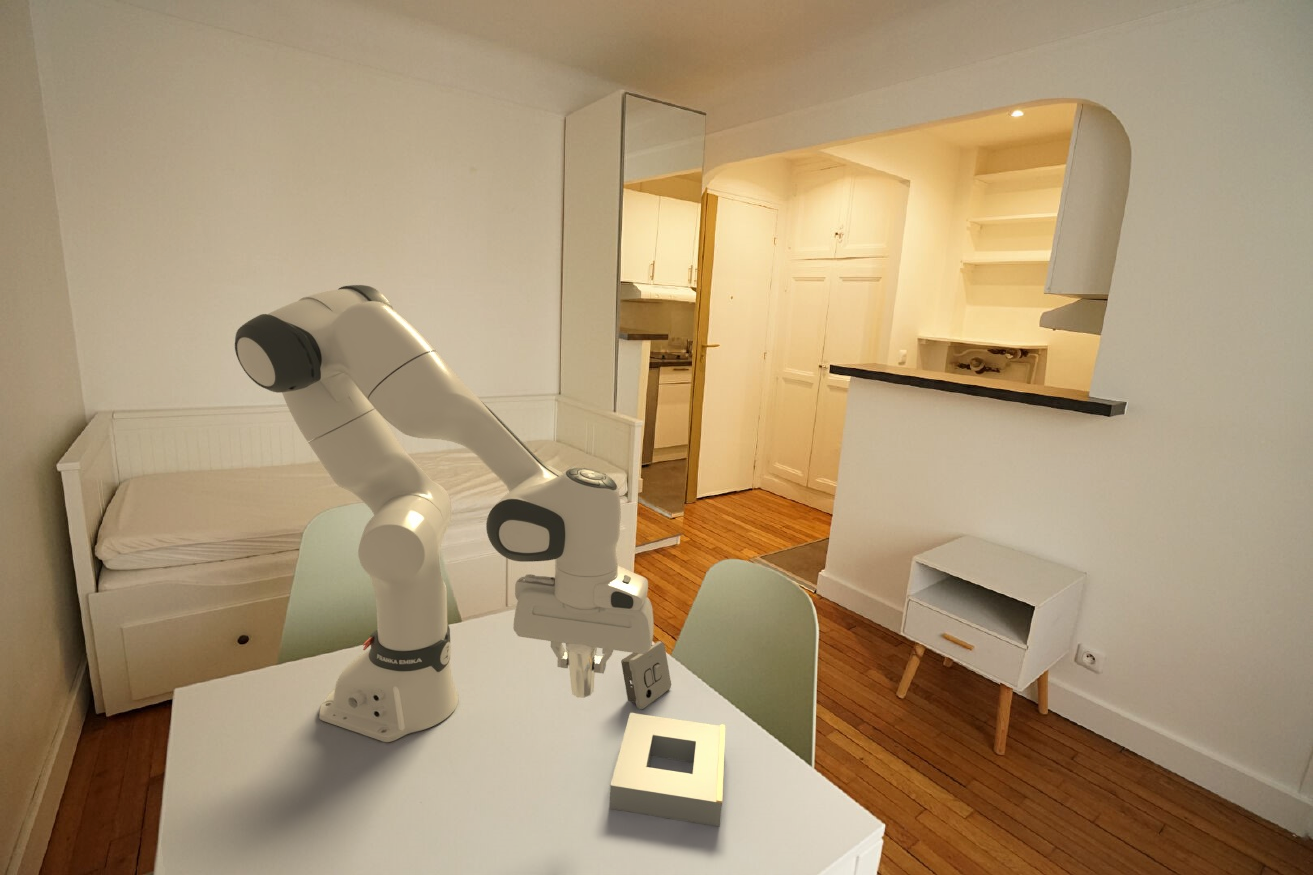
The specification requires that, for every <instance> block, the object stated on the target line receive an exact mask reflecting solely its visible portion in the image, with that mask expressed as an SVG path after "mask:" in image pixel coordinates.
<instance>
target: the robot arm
mask: <svg viewBox="0 0 1313 875" xmlns="http://www.w3.org/2000/svg"><path fill="white" fill-rule="evenodd" d="M234 351H235V355H236V358H237V360H238V362H239V364H240V366H241V368H242V370H243V371H244V373H245V374H246V375H247V377H248V378H249V379H250V380H251V381H253V382H254V383H255V384H256V385H257V386H258V387H261V388H263V389H265V390H267V391H270V392H273V393H281V394H282V396H283V398H284V401H285V404H286V405H287V409H288V410H289V413H290V414H291V416H292V418H293V419H294V420H293V421H294V422H295V424H296V425H297V427H298V429H299V430H300V432H301V434H302V435H303V437H304V439H305V440H306V442H307V444H308V445H309V446H310V448H311V449H312V451H313V452H314V454H315V456H316V457H317V458H318V460H319V462H321V464H322V465H323V467H324V469H325V470H326V471H327V473H328V474H329V476H330V478H331V479H332V480H333V482H334V483H335V484H336V485H337V486H338V487H340V488H341V489H344V490H347V491H349V492H350V493H352V494H353V495H355V496H356V497H357V498H358V499H359V500H360V501H362V503H364V504H365V505H366V506H367V507H368V508H369V510H370V511H372V513H373V516H372V517H371V518H370V519H369V521H368V522H367V523H366V525H365V526H364V529H363V532H362V535H361V537H360V540H359V544H358V552H357V554H358V561H359V562H360V566H361V568H362V569H363V570H364V571H365V572H366V573H367V574H368V575H369V577H370V582H371V585H372V588H373V591H374V596H375V597H374V598H375V605H376V606H375V608H376V620H377V623H376V624H377V629H375V631H373V632H372V633H371V634H370V637H369V638H368V639H367V640H366V641H365V642H364V643H363V644H362V646H364V647H363V651H364V652H363V653H362V654H360V655H358V656H357V657H356V658H355V659H353V660H352V661H351V662H350V663H349V664H348V665H347V666H346V667H345V668H344V670H342V672H341V673H340V674H339V676H338V678H337V681H336V684H335V685H334V686H335V687H334V689H333V690H331V692H330V693H329V694H328V695H327V696H326V698H325V699H324V701H323V702H322V704H321V705H320V709H319V715H318V716H319V720H320V721H323V722H326V723H328V724H331V725H335V726H337V727H341V728H342V729H346V730H349V731H351V732H354V733H357V734H360V735H364V736H366V737H370V738H372V739H375V740H378V741H381V742H383V743H390V742H394V741H396V740H398V739H401V738H402V737H405V736H406V735H408V734H411V733H412V734H413V733H417V732H420V731H423V730H426V729H429V728H431V727H433V726H436V725H438V724H439V723H441V722H443V721H444V720H446V719H447V718H449V716H451V714H452V713H453V712H454V711H455V710H456V708H457V706H458V702H459V694H458V691H457V689H456V686H455V683H454V679H453V675H452V669H451V662H450V660H451V653H452V645H451V628H450V625H449V624H448V598H447V597H448V594H447V586H446V583H445V581H444V579H443V574H442V570H441V569H442V568H441V564H440V554H441V552H440V550H441V546H442V542H443V538H444V536H445V534H446V532H447V529H448V528H449V525H450V523H451V522H452V521H451V520H452V501H451V497H450V494H449V493H448V491H447V490H446V489H445V488H444V487H443V486H442V485H441V484H439V483H437V482H435V481H434V480H432V479H431V478H430V476H429V475H428V474H427V473H426V472H425V471H424V469H423V468H421V467H420V466H419V465H418V463H417V462H416V461H415V460H414V459H413V458H412V457H411V456H410V455H409V453H407V451H406V450H405V449H404V447H403V446H402V445H401V443H400V442H399V440H398V439H397V437H396V435H395V434H394V432H393V430H392V428H390V426H389V424H390V425H391V426H393V427H394V428H395V429H397V431H399V432H401V433H402V434H404V435H406V436H409V437H412V438H417V439H427V440H428V439H431V440H442V441H447V442H453V443H455V444H458V445H461V446H463V447H465V448H467V449H469V451H471V452H472V453H473V454H474V455H476V456H477V457H478V458H479V459H480V460H481V461H482V463H484V464H485V466H487V468H489V469H490V470H491V472H492V473H493V474H494V475H496V477H497V478H498V479H499V480H500V481H501V482H502V483H503V484H504V485H505V486H506V487H507V489H508V493H505V495H504V496H503V497H502V498H500V500H499V501H498V502H497V503H496V504H495V505H494V506H493V507H492V508H491V510H490V512H489V513H488V514H487V515H488V516H487V519H486V524H485V526H486V527H485V528H486V534H487V538H488V540H489V542H490V544H491V546H492V547H493V548H494V549H495V551H496V552H498V554H500V555H501V556H502V557H504V558H506V559H508V560H510V561H514V562H519V563H520V562H522V563H523V562H524V563H525V562H526V563H527V562H544V561H545V562H547V561H553V560H554V561H555V562H554V563H555V564H554V566H555V567H554V576H548V575H547V576H546V575H545V576H544V575H542V576H540V575H535V574H525V575H524V576H521V577H519V578H517V580H516V581H515V585H514V586H515V587H514V597H515V599H516V601H517V602H516V606H515V611H514V618H513V631H514V632H515V634H516V635H517V637H518V638H519V637H520V638H528V639H532V640H533V639H535V640H540V641H546V642H550V648H551V650H552V652H553V653H554V655H555V656H556V658H557V664H556V665H557V668H561V669H569V663H568V657H567V651H566V648H565V647H564V646H563V644H566V643H568V644H582V645H586V646H589V647H596V648H598V649H601V650H602V651H601V652H602V656H600V655H599V656H597V655H596V660H595V662H594V672H595V673H596V674H602V675H604V673H605V671H606V666H607V662H608V660H610V658H611V657H612V655H613V652H614V651H617V652H618V651H619V652H625V653H631V654H632V653H638V654H645V653H646V652H647V651H648V650H649V649H650V648H651V645H653V640H654V639H653V638H654V610H653V605H652V602H651V600H650V599H649V597H648V591H649V581H648V579H647V578H646V577H645V576H643V575H640V574H638V573H635V572H633V571H631V570H628V569H627V568H624V567H623V566H620V565H619V558H618V555H617V546H618V542H619V540H620V536H621V517H622V516H621V497H620V496H621V495H620V490H619V488H618V485H617V483H616V482H615V480H614V479H612V477H610V476H608V475H607V474H606V473H604V472H603V471H602V472H601V471H600V470H596V469H593V468H587V467H573V468H570V469H566V471H565V472H562V471H560V470H558V469H556V468H555V467H553V466H550V465H549V464H547V463H546V462H544V461H543V460H541V459H540V458H539V457H538V456H536V455H535V454H534V453H533V452H532V451H531V450H530V449H529V448H528V446H527V445H526V444H525V443H524V442H523V441H522V440H521V439H520V438H519V437H518V436H517V435H516V434H515V432H513V431H512V430H511V429H510V428H509V426H508V425H506V424H505V423H504V421H503V420H501V419H500V417H498V415H497V414H496V413H495V412H493V410H491V409H490V407H488V406H487V405H486V404H485V403H484V402H483V401H482V400H481V399H480V398H479V397H478V396H477V395H476V394H475V393H474V392H473V391H472V390H471V389H470V388H469V387H468V386H467V385H466V384H465V383H464V382H463V380H462V379H461V378H460V377H459V376H458V375H457V373H455V371H454V370H453V369H452V368H451V367H450V366H449V364H448V363H447V362H446V361H445V360H444V359H443V358H442V356H441V355H440V354H439V353H438V351H436V349H435V348H434V347H433V346H432V345H431V343H429V341H428V340H427V339H426V338H425V337H424V336H423V335H422V334H421V332H419V331H418V330H417V329H416V328H415V327H414V326H413V325H412V324H411V323H410V322H409V321H407V320H406V319H405V318H404V317H403V316H402V315H401V314H399V313H398V312H397V311H396V310H395V309H394V308H393V306H392V305H391V303H390V301H389V300H388V299H387V298H386V296H385V295H384V294H383V293H382V292H380V291H379V290H377V288H374V287H372V286H370V285H363V284H352V285H343V286H340V287H339V288H338V289H334V290H329V291H324V292H323V291H322V292H319V293H314V294H312V295H311V294H310V295H308V296H304V297H302V298H299V299H298V300H297V301H294V302H291V303H289V304H287V305H285V306H281V307H279V308H277V309H276V310H274V311H271V312H269V313H262V314H259V315H257V316H255V317H253V318H252V319H250V320H248V321H247V322H245V323H244V324H242V325H241V326H240V327H239V328H238V329H237V330H236V333H235V337H234ZM388 423H389V424H388ZM369 647H370V648H369ZM368 648H369V649H368ZM367 649H368V650H367ZM366 650H367V651H366Z"/></svg>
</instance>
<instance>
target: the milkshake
mask: <svg viewBox="0 0 1313 875" xmlns="http://www.w3.org/2000/svg"><path fill="white" fill-rule="evenodd" d="M565 652H567V657H568V663H569V666H568V670H569V678H570V688H571V692H572V693H571V694H572V695H573V696H575V697H576V698H583V699H584V698H588V697H590V696H591V695H592V694H593V692H595V691H594V689H595V678H596V677H595V675H596V674H595V673H596V672H594V662H595V660H596V657H597V648H596V647H589V646H586V645H582V644H568V643H565Z"/></svg>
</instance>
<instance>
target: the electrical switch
mask: <svg viewBox="0 0 1313 875" xmlns="http://www.w3.org/2000/svg"><path fill="white" fill-rule="evenodd" d="M665 644H666V643H665V642H664V641H660V640H658V641H657V642H655V643H653V644H652V645H651V648H650V649H649V650H648V651H647V652H646V653H645V654H638V653H632V652H631V653H630V654H629V655H627V656H625V657H623V658H622V659H621V669H622V675H623V679H624V686H625V691H626V692H625V693H626V697H627V698H626V699H627V701H628V702H632V703H634V704H635V705H636V708H637V709H638V710H644V709H645V708H646V707H648V706H649V705H650V704H651V703H653V702H655V701H656V700H657V699H659V698H660V697H661V696H662V695H664V694H665V693H666V692H668V691H669V690H671V688H672V680H671V675H670V669H669V663H668V657H667V650H666V646H665Z"/></svg>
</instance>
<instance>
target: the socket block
mask: <svg viewBox="0 0 1313 875" xmlns="http://www.w3.org/2000/svg"><path fill="white" fill-rule="evenodd" d="M725 737H726V724H723V723H720V725H717V724H711V723H704V722H697V721H690V720H683V719H676V718H669V717H661V716H656V715H655V716H654V715H647V714H641V713H634V712H630V713H629V716H628V719H627V722H626V727H625V730H624V734H623V738H622V741H621V744H620V750H619V752H618V756H617V759H616V763H615V768H614V770H613V774H612V778H611V782H610V784H609V786H610V788H609V804H608V806H609V807H608V809H611V810H617V811H622V812H623V811H624V812H629V813H635V814H641V815H647V816H652V817H660V818H664V819H672V820H676V821H684V822H688V823H689V822H690V823H696V824H701V825H709V826H713V827H714V826H715V827H718V828H719V827H720V826H721V817H722V809H723V808H722V807H723V793H724V792H723V791H724V790H723V789H724V769H725V768H724V766H725V765H724V764H725V762H724V761H725V740H726V738H725ZM652 757H654V758H661V759H668V760H675V761H681V762H685V763H686V762H688V763H693V767H692V768H693V769H692V773H688V772H681V771H676V770H675V771H674V770H668V769H662V768H657V767H656V768H655V767H650V765H651V764H650V763H651V760H652V759H651V758H652Z"/></svg>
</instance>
